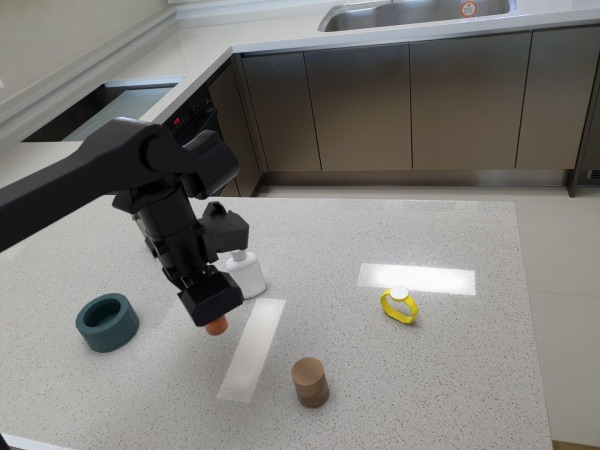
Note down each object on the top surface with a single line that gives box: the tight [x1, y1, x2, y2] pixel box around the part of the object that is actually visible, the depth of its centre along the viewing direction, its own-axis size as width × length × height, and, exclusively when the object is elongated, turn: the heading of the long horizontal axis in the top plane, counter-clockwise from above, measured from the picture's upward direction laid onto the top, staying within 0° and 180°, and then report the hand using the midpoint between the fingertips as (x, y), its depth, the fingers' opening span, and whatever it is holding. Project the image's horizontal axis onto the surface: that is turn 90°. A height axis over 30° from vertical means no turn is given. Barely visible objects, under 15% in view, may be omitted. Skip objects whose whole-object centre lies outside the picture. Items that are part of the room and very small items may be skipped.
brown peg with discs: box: [203, 314, 229, 337], centre depth 63 cm, size 3×3×8 cm
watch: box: [379, 285, 419, 325], centre depth 71 cm, size 6×3×6 cm, turn 50°
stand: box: [291, 356, 330, 409], centre depth 63 cm, size 4×4×6 cm
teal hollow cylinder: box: [75, 292, 140, 353], centre depth 80 cm, size 9×9×5 cm
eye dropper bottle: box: [225, 249, 267, 300], centre depth 80 cm, size 4×6×12 cm
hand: (209, 311), depth 63 cm, fingers closed on brown peg with discs, 2 cm apart
